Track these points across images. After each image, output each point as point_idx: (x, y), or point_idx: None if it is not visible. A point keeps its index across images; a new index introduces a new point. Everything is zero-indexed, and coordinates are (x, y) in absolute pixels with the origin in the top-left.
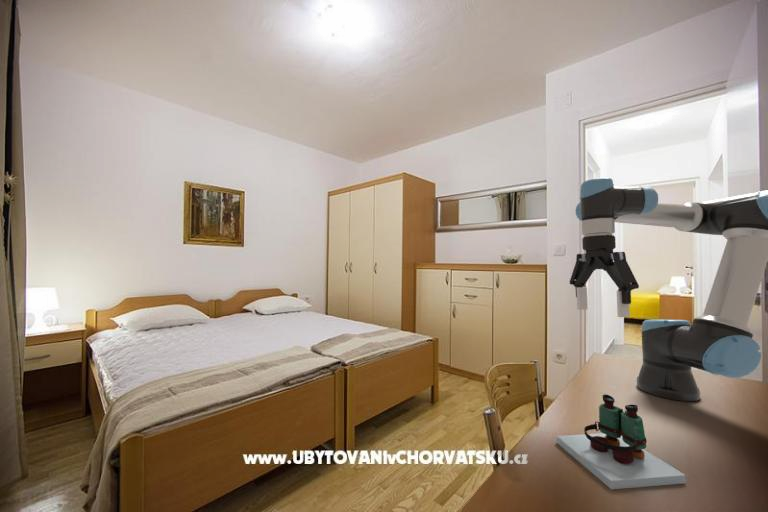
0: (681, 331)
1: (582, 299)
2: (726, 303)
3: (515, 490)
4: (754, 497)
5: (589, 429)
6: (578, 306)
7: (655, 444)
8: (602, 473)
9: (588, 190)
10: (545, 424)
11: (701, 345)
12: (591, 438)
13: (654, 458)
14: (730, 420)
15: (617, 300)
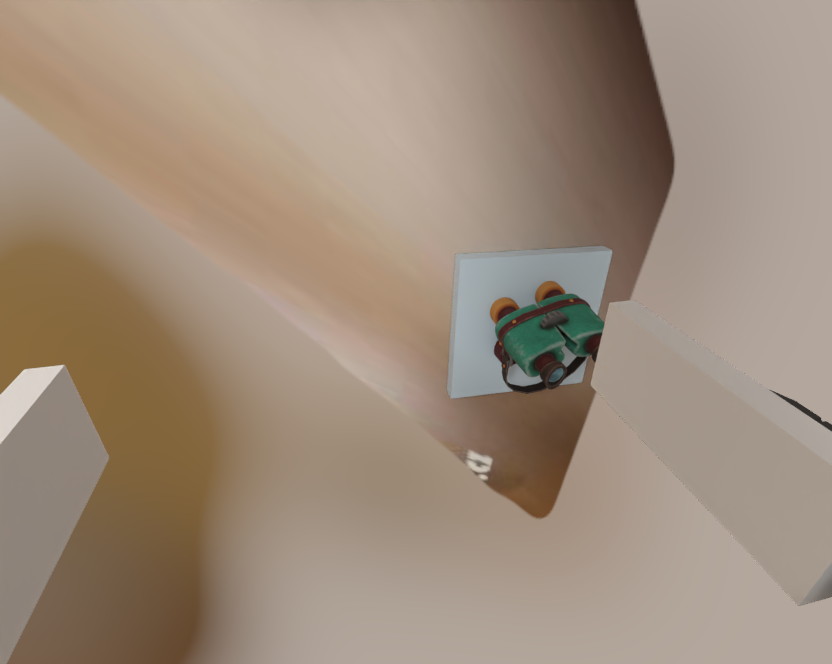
0: None
1: (22, 532)
2: None
3: (538, 487)
4: (666, 153)
5: (503, 371)
6: (83, 490)
7: (493, 173)
8: (564, 383)
9: None
10: (370, 378)
11: None
12: (535, 389)
13: (561, 261)
14: None
15: (700, 494)
